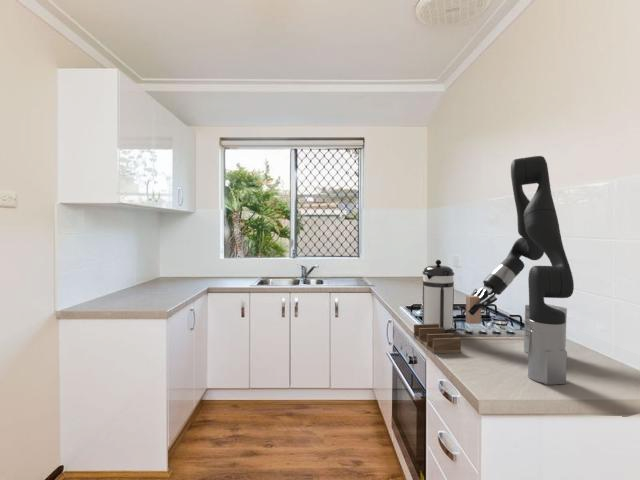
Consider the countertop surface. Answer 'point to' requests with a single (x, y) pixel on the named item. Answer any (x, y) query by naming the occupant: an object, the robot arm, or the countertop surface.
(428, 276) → the coffee press
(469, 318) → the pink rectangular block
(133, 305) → the countertop surface
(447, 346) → the drying rack
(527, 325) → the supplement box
